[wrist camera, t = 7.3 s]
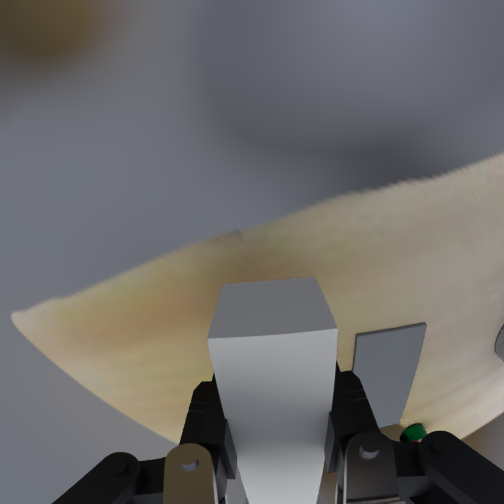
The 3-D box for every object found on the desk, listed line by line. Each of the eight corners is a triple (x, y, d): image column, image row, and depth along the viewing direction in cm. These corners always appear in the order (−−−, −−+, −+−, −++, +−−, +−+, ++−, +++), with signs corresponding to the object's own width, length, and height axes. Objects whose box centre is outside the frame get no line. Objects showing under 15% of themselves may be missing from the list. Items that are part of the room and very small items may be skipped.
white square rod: (344, 273, 9) (378, 322, 6) (320, 496, 14) (324, 533, 11) (193, 286, 10) (166, 339, 7) (247, 502, 14) (245, 538, 11)
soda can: (394, 441, 41) (412, 489, 29) (405, 424, 39) (426, 474, 28) (415, 437, 41) (435, 483, 29) (427, 421, 39) (450, 467, 28)
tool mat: (424, 322, 33) (426, 324, 32) (398, 420, 39) (399, 422, 38) (356, 334, 34) (357, 336, 33) (342, 432, 39) (343, 434, 39)
